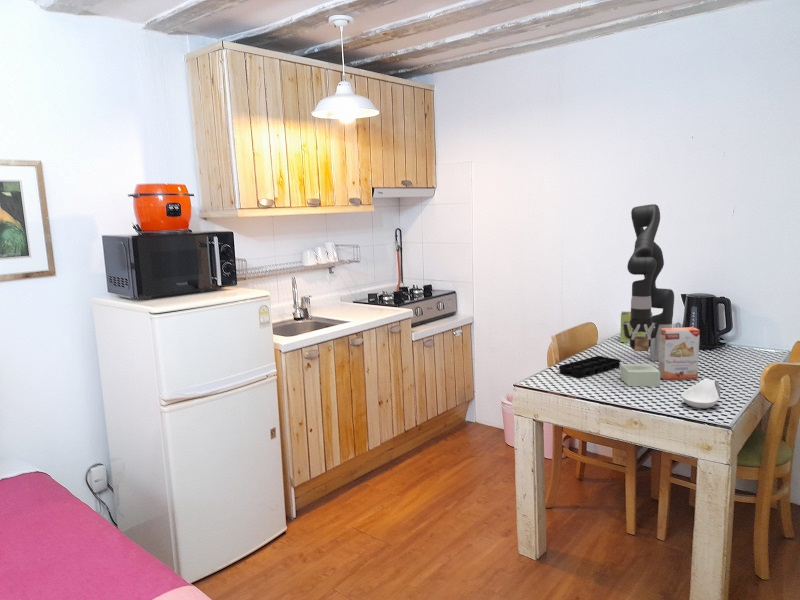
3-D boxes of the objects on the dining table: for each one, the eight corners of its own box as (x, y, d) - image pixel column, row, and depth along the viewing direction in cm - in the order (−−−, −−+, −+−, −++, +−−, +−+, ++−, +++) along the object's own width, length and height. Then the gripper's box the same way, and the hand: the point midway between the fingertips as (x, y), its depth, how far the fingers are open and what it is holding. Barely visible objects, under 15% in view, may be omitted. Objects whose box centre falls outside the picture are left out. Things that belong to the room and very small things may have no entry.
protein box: (651, 344, 296) (652, 315, 294) (620, 343, 302) (620, 314, 300) (651, 340, 306) (652, 311, 303) (620, 338, 312) (621, 311, 309)
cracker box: (664, 380, 233) (665, 330, 230) (657, 376, 239) (658, 327, 236) (698, 379, 233) (700, 329, 230) (691, 375, 239) (692, 326, 236)
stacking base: (650, 378, 238) (650, 364, 237) (659, 386, 226) (660, 371, 225) (620, 378, 239) (620, 364, 238) (628, 386, 227) (628, 372, 226)
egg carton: (554, 375, 249) (554, 366, 248) (587, 361, 270) (587, 353, 269) (593, 382, 237) (593, 373, 236) (623, 366, 258) (623, 358, 257)
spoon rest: (713, 414, 194) (713, 393, 193) (676, 407, 202) (677, 388, 201) (730, 396, 212) (731, 377, 211) (695, 391, 220) (696, 372, 218)
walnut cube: (644, 348, 233) (644, 336, 232) (648, 351, 228) (648, 339, 227) (631, 348, 233) (632, 336, 233) (635, 351, 228) (635, 339, 228)
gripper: (656, 305, 231) (655, 346, 233) (619, 305, 233) (619, 346, 235) (662, 308, 224) (661, 350, 226) (624, 308, 225) (624, 350, 228)
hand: (639, 348), depth 230 cm, fingers closed on walnut cube, 5 cm apart
